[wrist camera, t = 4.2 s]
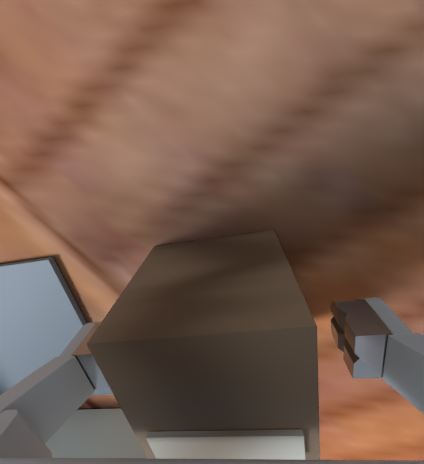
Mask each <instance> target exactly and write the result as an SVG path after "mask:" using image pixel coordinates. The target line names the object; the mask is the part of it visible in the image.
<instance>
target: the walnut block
mask: <svg viewBox="0 0 424 464" xmlns="http://www.w3.org/2000/svg"><path fill="white" fill-rule="evenodd" d="M87 346H88V348H89V350H90V352H91V354H92V355H93V357H94V359H95V361H96V363H97V365H98V367H99V368H100V370H101V372H102V374H103V376H104V378H105V380H106V381H107V383H108V385H109V387H110V389H111V391H112V393H113V394H114V396H115V398H116V400H117V402H118V404H119V406H120V407H121V409H122V411H123V413H124V415H125V417H126V419H127V420H128V422H129V424H130V426H131V428H132V430H133V432H134V433H135V435H136V437H137V439H138V441H139V443H140V445H141V447H142V448H143V450H144V452H145V454H146V456H147V458H159V459H284V460H320V441H319V398H318V356H317V325H316V323H315V321H314V319H313V316H312V314H311V312H310V310H309V307H308V305H307V303H306V300H305V298H304V296H303V294H302V291H301V289H300V287H299V285H298V282H297V280H296V278H295V276H294V273H293V271H292V269H291V267H290V264H289V262H288V260H287V258H286V255H285V253H284V251H283V249H282V246H281V244H280V242H279V240H278V237H277V235H276V233H275V231H274V230H268V231H261V232H254V233H247V234H240V235H233V236H226V237H219V238H211V239H204V240H197V241H190V242H183V243H176V244H169V245H162V246H155V247H154V248H153V249H152V251H151V252H150V253H149V255H148V256H147V258H146V259H145V261H144V262H143V263H142V265H141V266H140V268H139V269H138V271H137V272H136V274H135V275H134V276H133V278H132V279H131V281H130V282H129V284H128V285H127V286H126V288H125V289H124V291H123V292H122V294H121V295H120V297H119V298H118V299H117V301H116V302H115V304H114V305H113V307H112V308H111V309H110V311H109V312H108V314H107V315H106V317H105V318H104V319H103V321H102V322H101V324H100V325H99V327H98V328H97V330H96V331H95V332H94V334H93V335H92V337H91V338H90V340H89V341H88V342H87Z"/></svg>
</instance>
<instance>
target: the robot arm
mask: <svg viewBox="0 0 424 464" xmlns="http://www.w3.org/2000/svg"><path fill="white" fill-rule="evenodd" d="M331 312H332V314H333V315H334V317H333V318H332V319H331V330H332V335H333V338H334V341H335V343H336V345H337V347H338V348H339V349H340V350H342V351H343V352H344V361H345V363H346V365H347V367H348V369H349V371H350V373H351V375H352V377H353V378H382V380H384V381H385V382H386V383H387V384H388V385H390V386H391V387H392V388H393V389H394V390H396V391H397V392H398V393H399V394H400V395H402V396H403V397H404V398H405V399H407V400H408V401H409V402H410V403H411V404H413V405H414V406H415V407H416V408H417V409H419V410H420V411H421V412H422V413H423V414H424V335H422V334H420V333H413V332H412V331H411V330H410V329H409V328H408V327H407V326H406V325H405V324H404V323H403V322H402V320H401V319H400V318H399V317H398V316H397V315H396V314H395V313H394V312H393V311H392V310H391V309H390V307H389V306H388V305H387V304H386V303H385V302H384V301H383V300H382V299H381V298H379V297H371V298H362V299H354V300H344V301H333V302H332V303H331ZM100 324H101V322H94V323H87V324H85V325H83V327H82V328H81V329H80V331H79V332H78V333H77V334H76V336H75V337H74V338H73V339H72V341H71V342H70V343H69V344H68V346H67V347H66V348H65V350H64V351H63V352H62V353H61V355H60V356H59V357H55V358H53V359H52V360H50V361H49V362H47V363H46V364H45V365H43V366H42V367H40V368H39V369H37V370H36V371H34V372H33V373H31V374H30V375H29V376H27V377H26V378H24V379H23V380H21V381H20V382H18V383H17V384H15V385H14V386H13V387H11V388H10V389H8V390H7V391H5V392H4V393H2V394H1V395H0V464H424V461H408V460H284V459H159V458H52V452H51V451H50V449H49V448H48V447H47V446H46V444H45V443H46V442H47V441H48V440H49V439H50V438H51V437H52V436H53V435H54V434H55V433H56V432H57V431H58V429H59V428H60V427H61V426H62V425H63V424H64V423H65V422H66V421H67V420H68V419H69V418H70V417H71V416H72V415H73V414H74V413H75V412H76V410H77V409H78V408H79V407H80V406H81V405H82V404H83V403H84V402H85V401H86V400H87V399H88V398H89V397H90V396H91V395H92V394H93V393H94V391H95V390H98V389H110V387H109V385H108V383H107V381H106V380H105V378H104V376H103V374H102V372H101V370H100V368H99V367H98V365H97V363H96V361H95V359H94V357H93V355H92V354H91V352H90V350H89V348H88V346H87V342H88V341H89V340H90V338H91V337H92V335H93V334H94V332H95V331H96V330H97V328H98V327H99V325H100Z"/></svg>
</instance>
